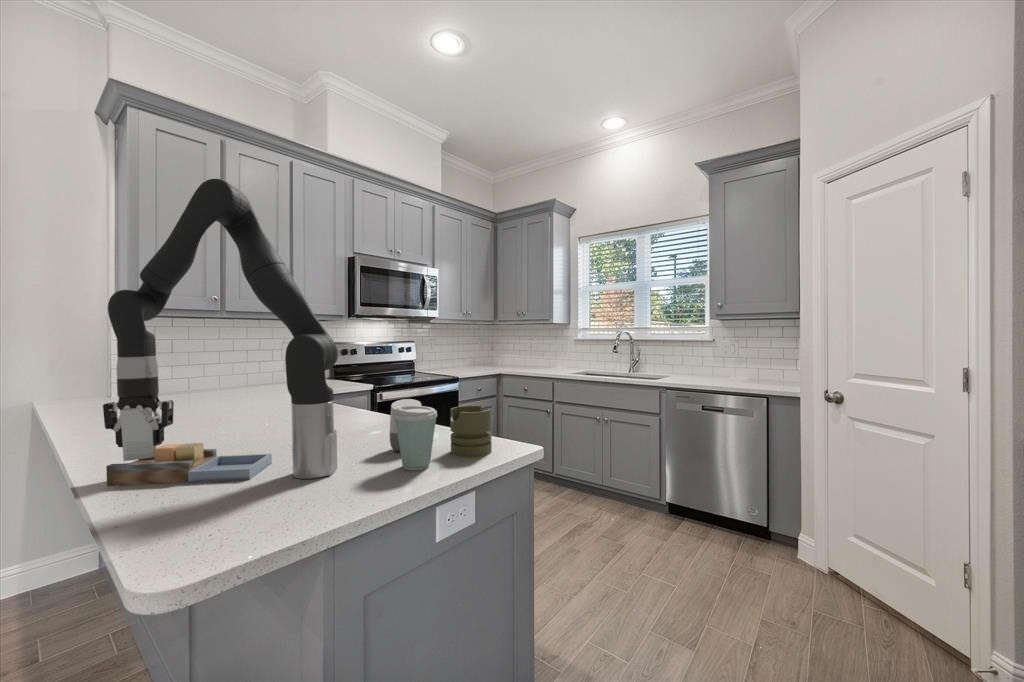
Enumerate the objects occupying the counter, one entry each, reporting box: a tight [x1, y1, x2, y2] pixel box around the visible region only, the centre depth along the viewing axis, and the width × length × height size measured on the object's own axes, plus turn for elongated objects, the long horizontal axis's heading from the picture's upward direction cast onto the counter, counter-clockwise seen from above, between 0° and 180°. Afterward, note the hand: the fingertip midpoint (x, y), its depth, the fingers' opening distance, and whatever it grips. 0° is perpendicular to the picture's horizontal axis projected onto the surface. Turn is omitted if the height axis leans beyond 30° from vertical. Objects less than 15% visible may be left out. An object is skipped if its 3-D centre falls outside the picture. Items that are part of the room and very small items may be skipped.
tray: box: [187, 453, 273, 484], centre depth 110 cm, size 13×13×2 cm
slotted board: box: [105, 448, 218, 487], centre depth 108 cm, size 17×12×4 cm
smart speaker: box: [389, 398, 423, 453], centre depth 129 cm, size 10×9×14 cm
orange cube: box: [155, 443, 184, 462], centre depth 108 cm, size 4×4×4 cm
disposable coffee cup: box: [394, 405, 438, 471], centre depth 113 cm, size 11×11×15 cm
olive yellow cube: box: [176, 442, 204, 464], centre depth 109 cm, size 4×4×4 cm
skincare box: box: [119, 408, 159, 462], centre depth 107 cm, size 6×4×12 cm
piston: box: [449, 405, 493, 459], centre depth 126 cm, size 11×12×11 cm
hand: (140, 445), depth 107 cm, fingers closed on skincare box, 7 cm apart
